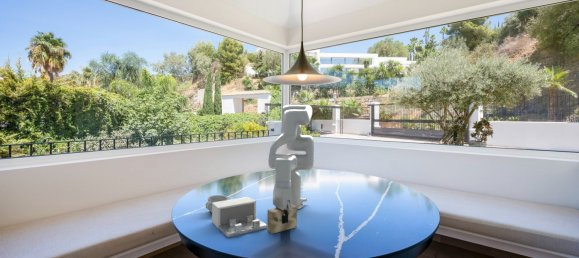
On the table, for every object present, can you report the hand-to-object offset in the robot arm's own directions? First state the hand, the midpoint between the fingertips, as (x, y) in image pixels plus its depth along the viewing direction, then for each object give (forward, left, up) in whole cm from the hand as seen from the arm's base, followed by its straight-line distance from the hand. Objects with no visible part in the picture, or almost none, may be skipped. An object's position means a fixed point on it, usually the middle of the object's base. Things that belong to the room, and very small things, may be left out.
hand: (282, 220), depth 135 cm
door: (0, 0, -4) cm, 4 cm away
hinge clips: (+15, -11, -4) cm, 19 cm away
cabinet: (+15, -22, -4) cm, 27 cm away
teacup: (+19, -39, -4) cm, 43 cm away
